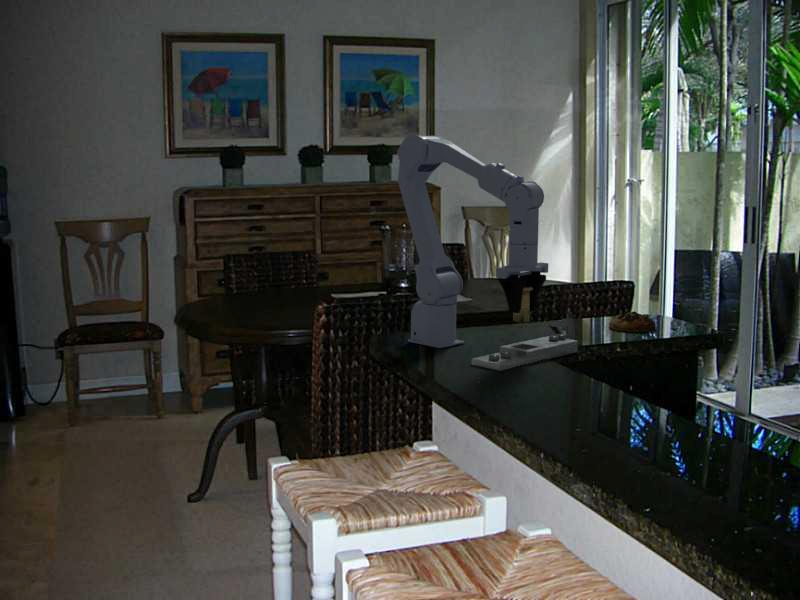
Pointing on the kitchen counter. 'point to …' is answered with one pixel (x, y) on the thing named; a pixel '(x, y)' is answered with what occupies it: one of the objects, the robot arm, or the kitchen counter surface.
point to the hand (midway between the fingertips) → (521, 311)
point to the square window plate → (505, 360)
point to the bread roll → (632, 323)
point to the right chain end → (543, 347)
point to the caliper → (565, 325)
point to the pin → (524, 306)
